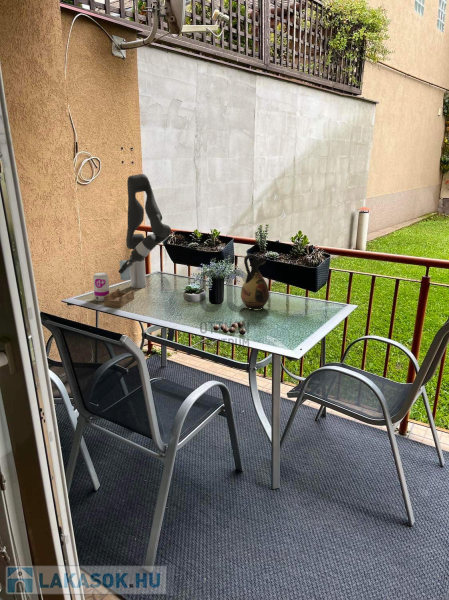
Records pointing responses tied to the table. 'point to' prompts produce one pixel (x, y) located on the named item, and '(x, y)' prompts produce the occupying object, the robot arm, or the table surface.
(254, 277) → the ceramic jug
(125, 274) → the domed pale cylinder
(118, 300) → the wooden serving tray
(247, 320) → the table surface
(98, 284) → the supplement can
